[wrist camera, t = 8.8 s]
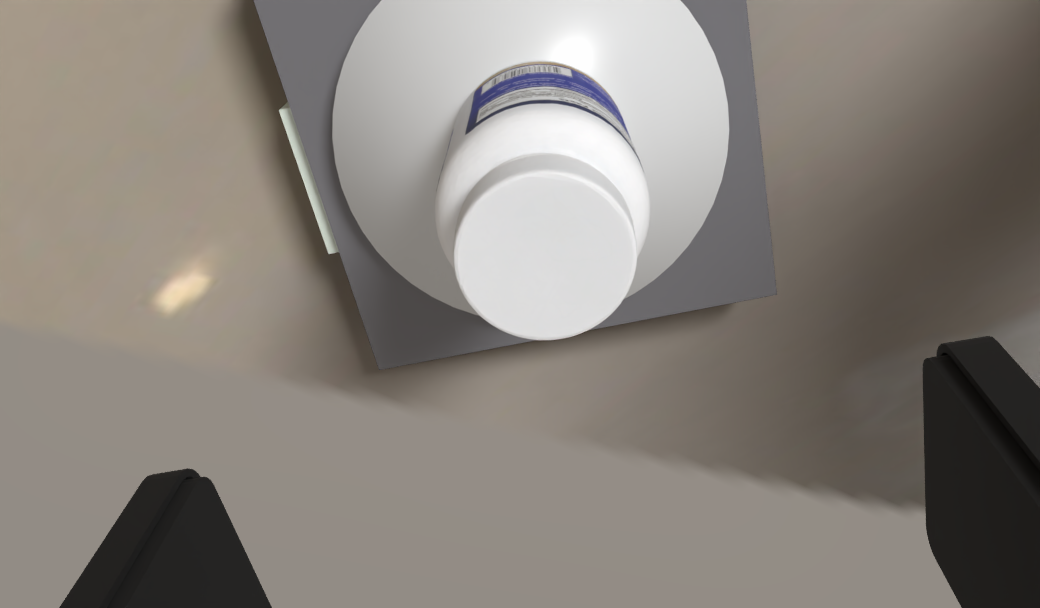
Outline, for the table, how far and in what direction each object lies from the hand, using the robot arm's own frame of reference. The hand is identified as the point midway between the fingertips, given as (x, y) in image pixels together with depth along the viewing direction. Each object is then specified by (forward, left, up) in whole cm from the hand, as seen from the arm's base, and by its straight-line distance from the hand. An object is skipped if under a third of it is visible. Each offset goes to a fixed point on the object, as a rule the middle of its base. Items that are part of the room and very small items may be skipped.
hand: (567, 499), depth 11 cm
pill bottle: (0, 0, -17) cm, 17 cm away
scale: (+1, 0, -20) cm, 20 cm away
